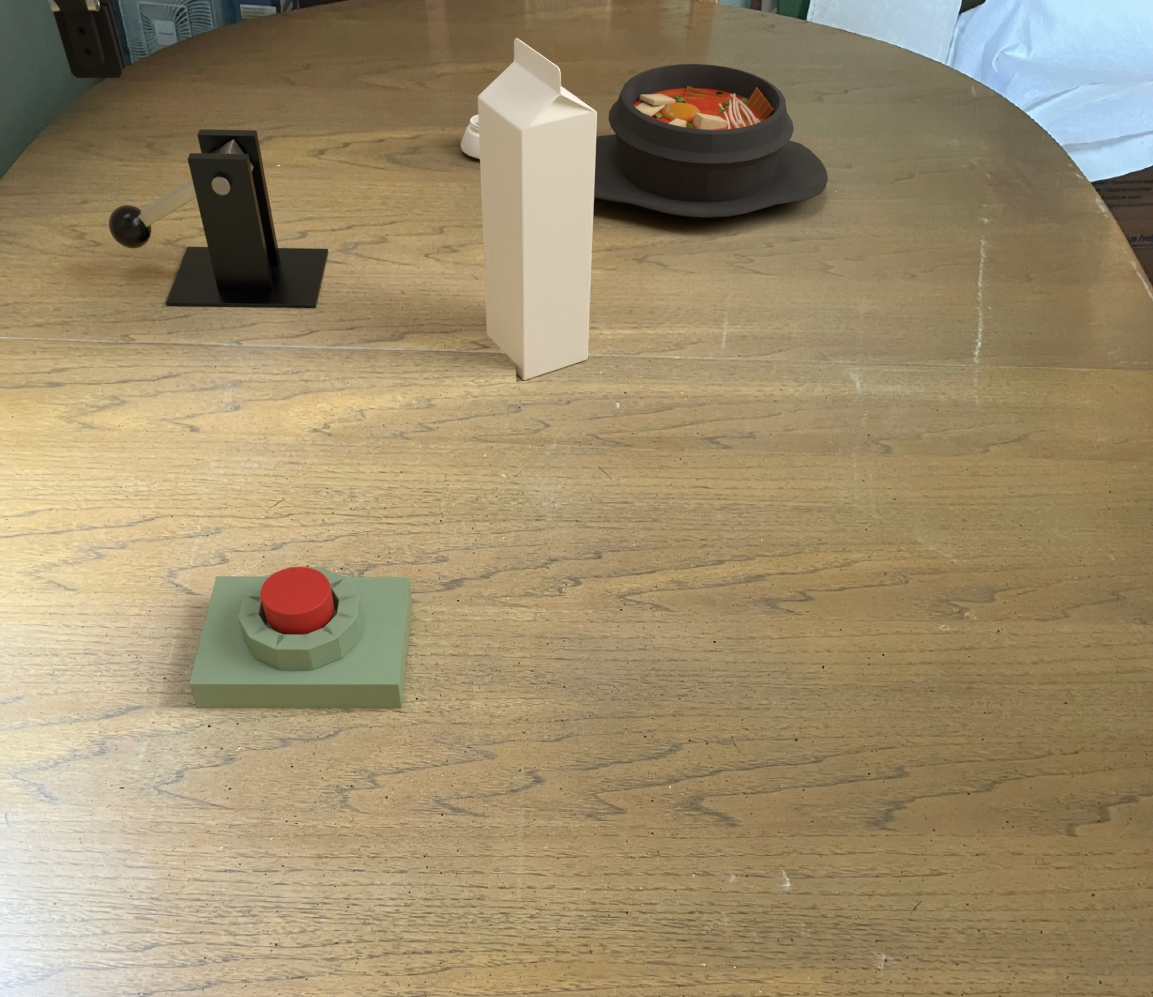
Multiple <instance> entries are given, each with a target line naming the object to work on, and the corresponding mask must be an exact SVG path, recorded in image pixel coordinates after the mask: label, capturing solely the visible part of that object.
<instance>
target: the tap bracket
mask: <svg viewBox="0 0 1153 997" xmlns="http://www.w3.org/2000/svg"><path fill="white" fill-rule="evenodd" d="M196 136H197V140H198V145H199V149H200V152H190V153H189V155H188V157H187V162H188V166H189V171H190V176H191V179H192V180H193V185H194V189H195V193H196V198H195V199H196V203H197V206H198V210H199V215H200V220H201V222H202V223H201V224H202V227H203V228H202V229H203V232H204V236H205V241H206V245H207V246H186V249H185V252H184V255H183V257H182V259H181V262H180V264H179V267H178V270H177V272H176V275H175V277H174V281H173V283H172V286H171V289H170V291H169V294H168V296H167V299H166V302H165V305H166V307H184V308H185V307H187V308H199V307H200V308H253V309H254V308H256V309H261V308H263V309H267V308H268V309H317V305H318V301H319V296H320V291H321V287H322V284H323V278H324V274H325V270H326V265H327V260H328V256H329V248H314V247H313V248H311V247H310V248H309V247H307V248H306V247H279V246H278V240H277V235H276V229H275V223H274V219H273V218H274V217H273V213H272V208H271V202H270V196H269V190H268V186H267V179H266V175H265V168H264V164H263V158H262V152H261V147H260V141H259V136H258V131H257V130H256V129H255V130H252V129H208V128H207V129H206V128H205V129H203V128H200V129H199V130H198V132H197V135H196ZM231 140H235V142H236V143H237V145H238V146H239V147H240V149H241V150H242V151H243V153H244V154H216V153H212V152H214V151H215V150H217V149H218V148H220V147H222V146H223V145H225V144H227V143H228V142H230V141H231ZM250 162H251V164H252V165H253V170H251V165H250Z"/></svg>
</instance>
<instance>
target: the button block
mask: <svg viewBox="0 0 1153 997" xmlns="http://www.w3.org/2000/svg"><path fill="white" fill-rule="evenodd" d="M307 567H308V568H312V569H315V570H317V571H319V572H321V573H322V574H324V575H325V576H326V578H327V579H328V581H329V583H330V587H331V592H332V597H333V602H334V613H333V615H332V618H331V619H330V621H329V622H328V623H327V624H326V625H325V626H323V627H322V628H320V629H319V630H316V631H314V632H311V633H308V634H304V635H288V634H284V633H281V632H278V631H277V630H275V629H274V628H272V627H271V626H270V625H269V623H268V622H267V620H266V616H265V612H264V608H263V604H262V601H261V596H260V593H261V588H262V586H263V584H264V582H265V581H266V580H267V579H268V578H269V577H270V576H271V575H273V574H274V573H276V572H277V571H276V572H273V573H269V574H267V575H264V576H263V575H261V576H259V575H258V576H257V575H256V576H255V575H254V576H253V575H251V576H250V575H248V576H247V575H246V576H245V575H239V576H237V575H235V576H234V575H233V576H232V575H216V576H215V580H214V584H213V588H212V592H211V596H210V600H209V604H208V606H207V611H206V615H205V619H204V622H203V626H202V631H201V635H200V639H199V643H198V646H197V651H196V654H195V658H194V662H193V666H192V670H191V673H190V678H189V682H188V686H189V688H190V691H191V694H192V698H193V700H194V703H195V705H196V708H197V709H403V702H404V692H405V681H406V672H407V659H408V651H409V640H410V630H411V619H412V610H413V597H412V596H413V595H412V588H411V579H410V577H409V576H344V575H342V574H339V573H337V572H335V571H332V570H330V569H327V568H326V567H321V566H307ZM288 568H291V566H289V567H288Z"/></svg>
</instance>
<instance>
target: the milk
mask: <svg viewBox="0 0 1153 997" xmlns="http://www.w3.org/2000/svg"><path fill="white" fill-rule="evenodd" d="M477 113H478V114H477V115H478V118H479V144H480V159H479V165H480V166H479V168H480V169H479V170H480V171H479V172H480V192H481V193H480V194H481V195H480V196H481V219H482V221H481V222H482V246H483V248H482V249H483V272H484V296H485V298H484V299H485V302H484V303H485V318H486V319H485V324H486V336H488V338H489V339H491V341H492V342H493V343H494V344H495V345H496V346H497V347H498V348H499V349H500V350H501V351H502V352H503V353H504V354H505V355H506V356H508V358H509V359H510V360H511V361H512V362H513V363H514V364H515V374H517V375H518V376H519V378H521V379H522V380H523V381H526V380H530V379H533V378H536V377H538V376H539V377H540V376H542V375H545V374H548V373H550V372H555V371H557V370H560V369H563V368H566V367H569V366H572V365H575V364H579V363H581V362H585V361H587V360H588V358H589V335H590V306H591V285H592V284H591V282H592V260H593V258H592V254H593V230H594V229H593V228H594V208H595V207H594V203H595V202H594V201H595V198H594V181H595V155H596V137H597V130H598V129H597V124H598V112H597V111H596V110H595V108H593V107H591V106H589V105H588V104H587V103H585V102H584V101H582V99H580V98H579V97H577V96H576V95H574V94H573V93H572V92H570V91H569V90H567V89H566V88H565V87H563V86H562V72H561V69H560V67H559V66H558V65H557V64H555V63H553V62H552V61H550V60H549V59H548V58H547V57H546V56H544V55H542V54H541V53H540V52H538V51H537V50H535V49H534V48H532V47H531V46H529V45H528V44H527V43H525V42H524V41H523V40H521V39H519V38H518V37H516V38H514V41H513V61H512V62H511V64H510V65H509V66H507V68H505V70H504V71H502V72H501V73H500V74H499V75H498V76H497V77H496V78H495V79H494V80H493V81H492V82H491V83H490V84H488V86H486V88H484V90H482V91H481V93H479V95H478V96H477Z"/></svg>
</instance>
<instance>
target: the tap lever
mask: <svg viewBox="0 0 1153 997" xmlns="http://www.w3.org/2000/svg"><path fill="white" fill-rule="evenodd" d="M212 153H216V154H244V153H243V151H242V150H241V149H240V147H239V146H238V145H237V143H236V142H235V140H231V141H230V142H228V143H227V144H225V145H223V146H222V147H220V148H218V149H217V150H215V151H214V152H212ZM250 165H251V170H253V165H252V164H251V162H250ZM194 199H197V198H196V193H195V189H194V185H193V180H192V178H191V179H190V180H188V181H186V182H184V183H183V184H181V185H180V186H177V187H176V188H175V189H173V190H172V191H170V192H168V193H167V194H165V195H163V196H161V197H160V198H159V199H156V200H155V201H154V202H152V203H149V205H147V206H145V207H144V208H142V209H140V208H139V207H138V206H134V205H130V204H124V205H120V206H118V207H116V208H114V210H113V211H112V212H111V214H110V216H109V218H108V229H109V232H110V234H111V236H112V238H113V239H114V240H115V242H117V243H118V244H119V245H121V246H122V247H123V248H127V249H139V248H142V247H143V246H145V245H146V244H147V243H148V242H149V240H150V238H151V235H152V225H153V224H154V223H156V222H159V221H160V220H161V219H163V218H165V217H166V216H168V215H170V214H171V213H173V212H175V211H176V210H178V209H179V208H181V207H183V206H184V205H186V204H188V203H190V202H191V201H193V200H194Z"/></svg>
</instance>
